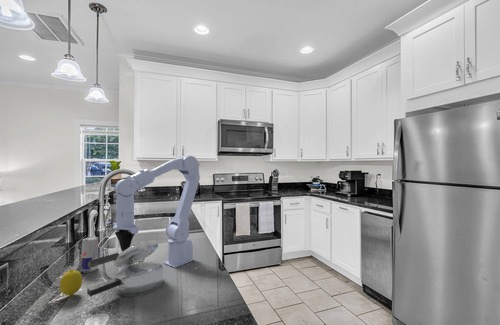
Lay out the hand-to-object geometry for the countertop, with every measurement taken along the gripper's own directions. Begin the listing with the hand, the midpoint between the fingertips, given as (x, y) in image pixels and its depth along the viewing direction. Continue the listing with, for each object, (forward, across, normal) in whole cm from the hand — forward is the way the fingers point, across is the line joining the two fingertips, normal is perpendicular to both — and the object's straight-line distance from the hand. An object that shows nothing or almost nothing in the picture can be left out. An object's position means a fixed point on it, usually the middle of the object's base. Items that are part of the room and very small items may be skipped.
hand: (125, 250), depth 86 cm
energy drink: (+10, -18, -5) cm, 21 cm away
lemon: (+10, -1, -16) cm, 19 cm away
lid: (0, +8, -3) cm, 9 cm away
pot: (+9, +10, -4) cm, 14 cm away
